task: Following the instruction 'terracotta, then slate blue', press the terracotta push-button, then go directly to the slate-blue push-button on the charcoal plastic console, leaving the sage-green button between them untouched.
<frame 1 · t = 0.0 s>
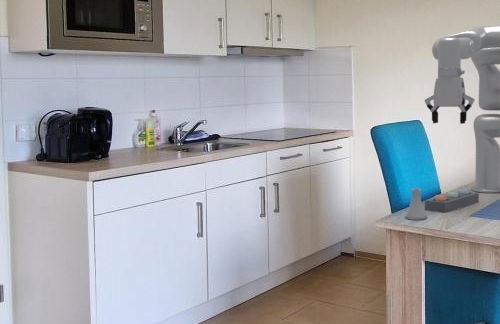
hand: (448, 123, 217), 31 cm above the table, tool pointing down, fingers open, 9 cm apart
flask: (416, 218, 211), on the table
console: (452, 206, 228), on the table
slate button: (463, 193, 233), point 4 cm above the table, slide at 0.0 cm
terracotta button: (440, 199, 222), point 3 cm above the table, slide at 0.0 cm
sage button: (452, 196, 228), point 4 cm above the table, slide at 0.0 cm
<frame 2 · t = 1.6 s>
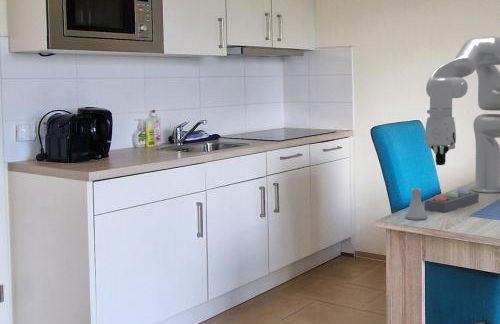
hand: (440, 164, 220), 16 cm above the table, tool pointing down, fingers closed
nothing on the table moved.
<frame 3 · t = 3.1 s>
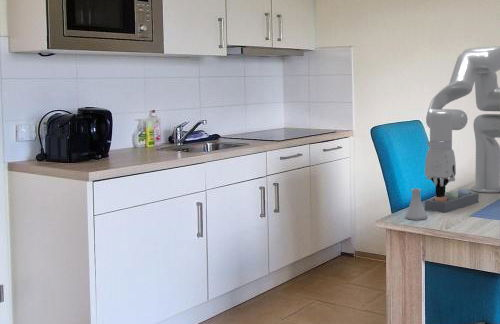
hand: (440, 196, 222), 5 cm above the table, tool pointing down, fingers closed
terracotta button: (440, 200, 222), point 3 cm above the table, slide at 0.2 cm, touching gripper
everything else where it was.
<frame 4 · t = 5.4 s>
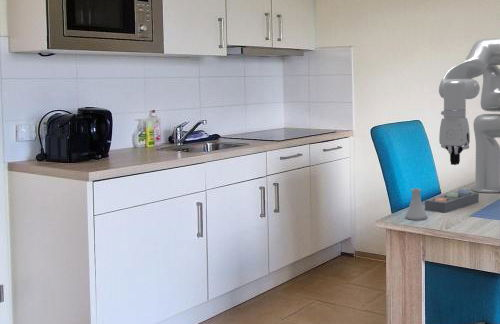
hand: (455, 164, 227), 15 cm above the table, tool pointing down, fingers closed
terracotta button: (440, 202, 222), point 3 cm above the table, slide at 1.0 cm
everything else where it was.
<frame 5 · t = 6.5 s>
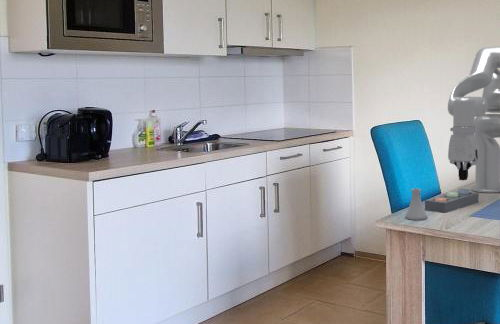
hand: (463, 179, 232), 9 cm above the table, tool pointing down, fingers closed
nothing on the table moved.
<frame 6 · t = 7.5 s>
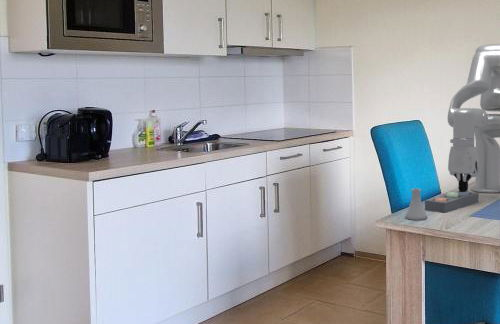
hand: (463, 191, 233), 4 cm above the table, tool pointing down, fingers closed
slate button: (463, 195, 233), point 3 cm above the table, slide at 0.7 cm, touching gripper
everything else where it was.
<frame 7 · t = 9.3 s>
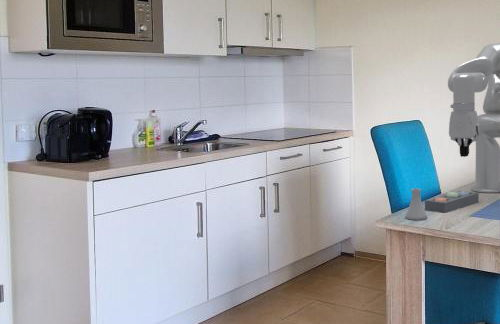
hand: (464, 156, 233), 17 cm above the table, tool pointing down, fingers closed
slate button: (463, 196, 233), point 2 cm above the table, slide at 1.0 cm
everything else where it was.
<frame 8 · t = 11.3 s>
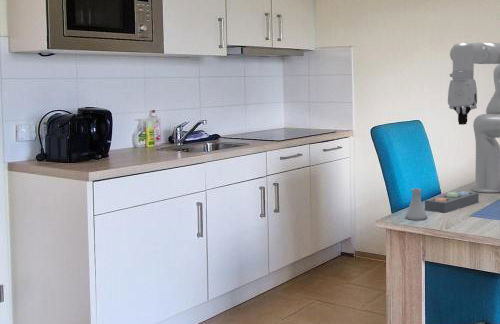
hand: (462, 124, 237), 29 cm above the table, tool pointing down, fingers closed
nothing on the table moved.
at the end: terracotta button slide at 1.0 cm; slate button slide at 1.0 cm; sage button slide at 0.0 cm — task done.
